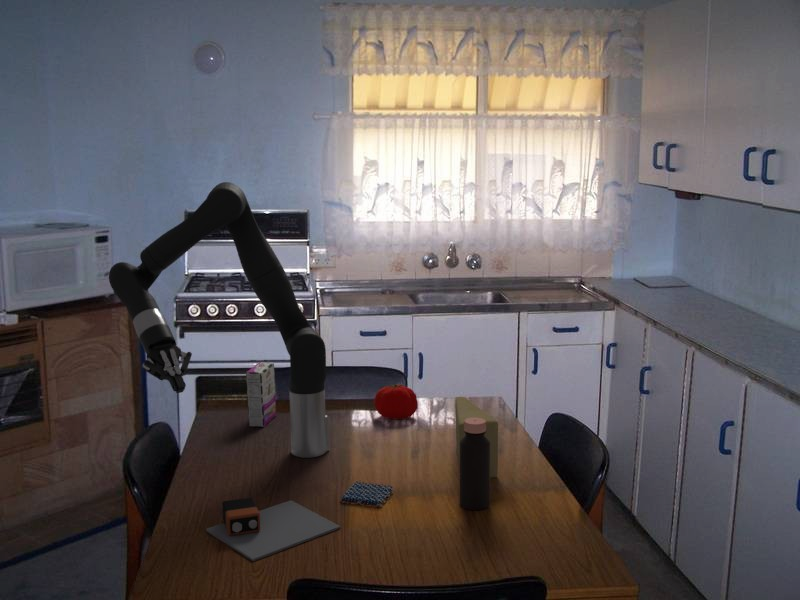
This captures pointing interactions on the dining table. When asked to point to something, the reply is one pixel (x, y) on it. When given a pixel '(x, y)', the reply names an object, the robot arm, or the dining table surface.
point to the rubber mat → (276, 530)
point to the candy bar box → (261, 394)
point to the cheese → (471, 411)
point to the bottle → (474, 465)
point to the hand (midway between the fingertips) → (181, 390)
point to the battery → (241, 516)
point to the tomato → (396, 402)
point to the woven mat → (367, 494)
